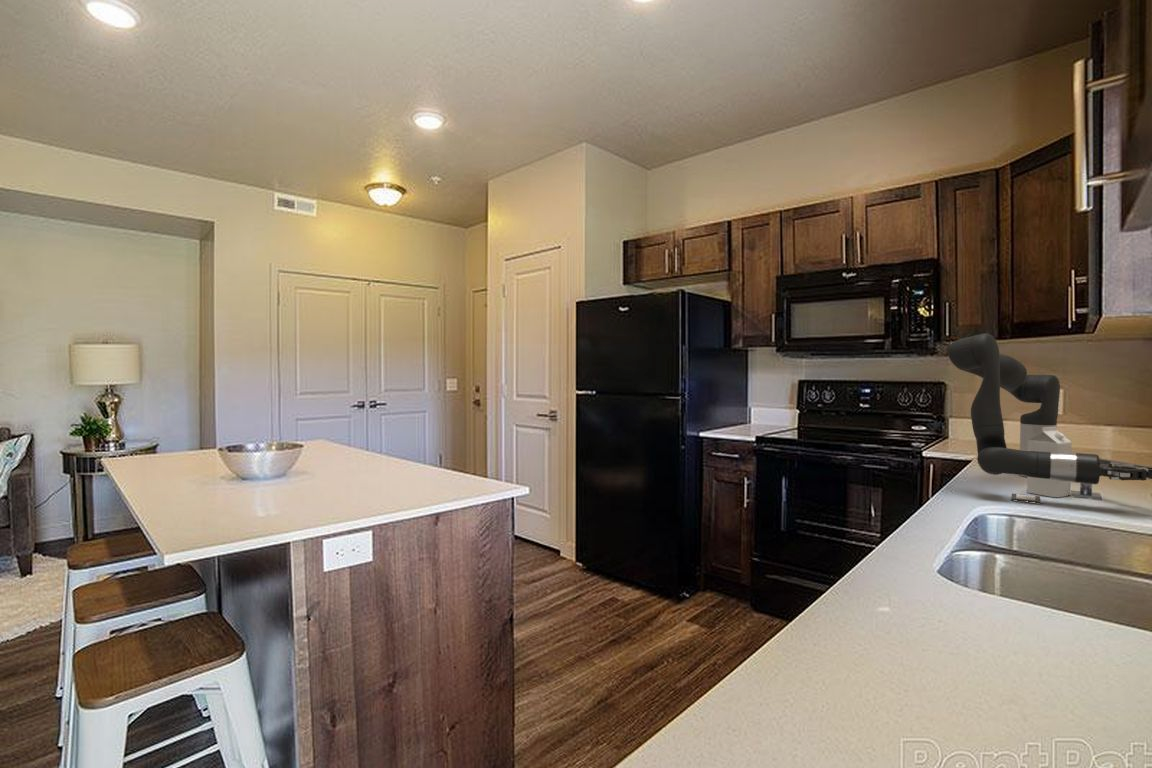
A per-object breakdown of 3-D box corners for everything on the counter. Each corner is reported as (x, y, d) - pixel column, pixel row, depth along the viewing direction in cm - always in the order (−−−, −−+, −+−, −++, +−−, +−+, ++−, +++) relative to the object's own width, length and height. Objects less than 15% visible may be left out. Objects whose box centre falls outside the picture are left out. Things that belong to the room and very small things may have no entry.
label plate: (1011, 495, 157) (1011, 492, 157) (1039, 498, 153) (1039, 495, 153) (1011, 500, 150) (1011, 498, 150) (1040, 504, 147) (1040, 501, 147)
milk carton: (1026, 493, 160) (1028, 426, 159) (1040, 490, 163) (1042, 425, 162) (1056, 498, 153) (1058, 428, 153) (1070, 495, 156) (1072, 427, 156)
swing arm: (1074, 464, 157) (1074, 454, 157) (1086, 464, 157) (1086, 454, 157) (1180, 483, 131) (1181, 471, 131) (1195, 483, 131) (1195, 471, 131)
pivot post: (1070, 493, 160) (1071, 464, 159) (1099, 496, 156) (1100, 466, 156) (1072, 496, 155) (1072, 467, 155) (1101, 499, 151) (1102, 469, 151)
